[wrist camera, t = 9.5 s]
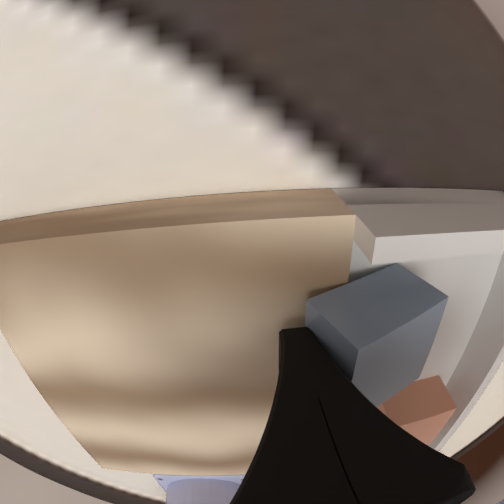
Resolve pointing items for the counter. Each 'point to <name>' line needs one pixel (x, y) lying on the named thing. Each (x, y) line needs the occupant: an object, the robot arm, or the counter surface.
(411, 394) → the terracotta block
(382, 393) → the slate tile
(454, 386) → the box
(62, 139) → the counter surface
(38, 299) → the oak board
